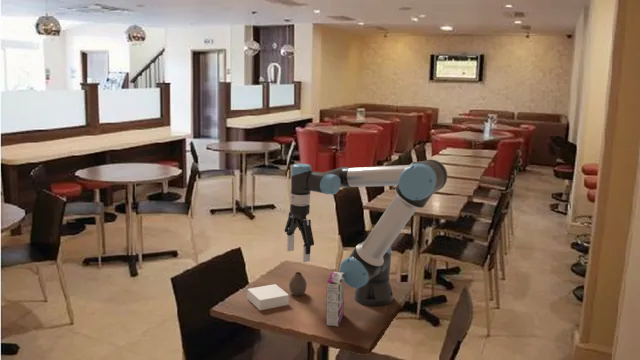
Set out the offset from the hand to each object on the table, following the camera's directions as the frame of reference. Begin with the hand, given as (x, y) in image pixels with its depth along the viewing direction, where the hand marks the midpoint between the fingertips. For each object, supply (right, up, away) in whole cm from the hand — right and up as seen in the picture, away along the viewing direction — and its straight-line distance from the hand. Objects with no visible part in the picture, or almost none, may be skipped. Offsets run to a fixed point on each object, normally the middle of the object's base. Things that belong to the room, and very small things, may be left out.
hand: (298, 256), depth 228 cm
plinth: (-11, -17, -6) cm, 21 cm away
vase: (0, -16, +3) cm, 16 cm away
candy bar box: (+14, -21, -19) cm, 32 cm away
